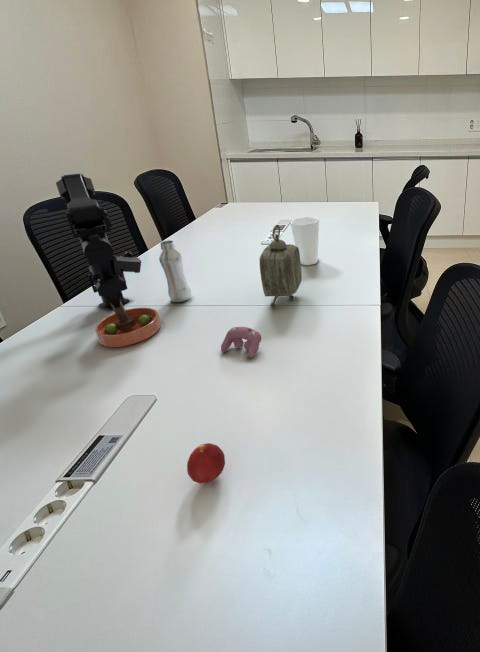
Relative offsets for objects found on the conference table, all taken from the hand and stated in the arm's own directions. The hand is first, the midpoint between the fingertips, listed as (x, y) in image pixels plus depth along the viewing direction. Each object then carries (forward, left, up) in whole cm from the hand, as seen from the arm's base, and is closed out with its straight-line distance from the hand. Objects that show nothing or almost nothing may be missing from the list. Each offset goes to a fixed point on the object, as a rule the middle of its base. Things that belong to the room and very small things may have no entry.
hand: (117, 305), depth 106 cm
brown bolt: (+1, 0, -7) cm, 7 cm away
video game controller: (+37, +7, -9) cm, 39 cm away
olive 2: (+2, +4, -6) cm, 8 cm away
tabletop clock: (+30, +34, -9) cm, 46 cm away
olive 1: (-2, -3, -6) cm, 7 cm away
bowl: (+2, 0, -9) cm, 9 cm away
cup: (+18, +64, -9) cm, 67 cm away
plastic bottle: (-2, +20, -9) cm, 22 cm away
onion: (+59, -24, -9) cm, 64 cm away
